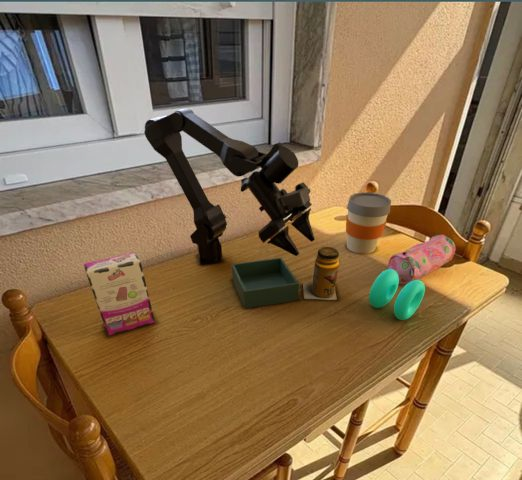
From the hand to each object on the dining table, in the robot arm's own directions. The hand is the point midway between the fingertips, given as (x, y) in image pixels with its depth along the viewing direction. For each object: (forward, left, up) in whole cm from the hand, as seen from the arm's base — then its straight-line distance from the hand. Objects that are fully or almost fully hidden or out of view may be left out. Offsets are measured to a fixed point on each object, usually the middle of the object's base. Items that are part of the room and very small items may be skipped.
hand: (305, 247), depth 96 cm
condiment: (+4, -4, -12) cm, 13 cm away
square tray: (-10, +1, -11) cm, 16 cm away
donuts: (+18, -17, -12) cm, 27 cm away
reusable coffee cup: (+27, +17, -12) cm, 34 cm away
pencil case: (+35, -2, -12) cm, 36 cm away
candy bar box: (-45, -5, -12) cm, 47 cm away
